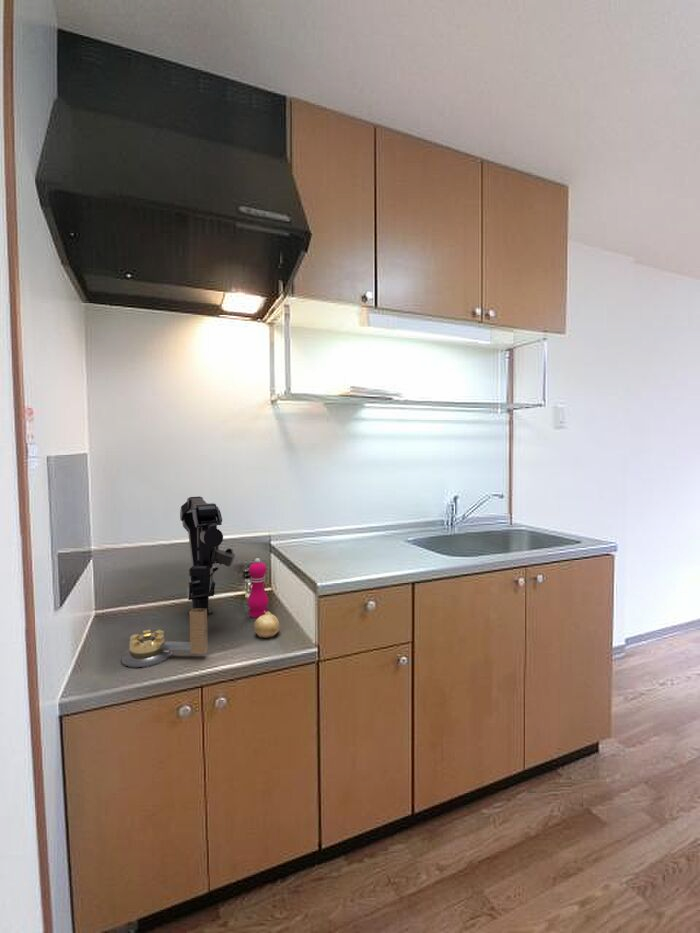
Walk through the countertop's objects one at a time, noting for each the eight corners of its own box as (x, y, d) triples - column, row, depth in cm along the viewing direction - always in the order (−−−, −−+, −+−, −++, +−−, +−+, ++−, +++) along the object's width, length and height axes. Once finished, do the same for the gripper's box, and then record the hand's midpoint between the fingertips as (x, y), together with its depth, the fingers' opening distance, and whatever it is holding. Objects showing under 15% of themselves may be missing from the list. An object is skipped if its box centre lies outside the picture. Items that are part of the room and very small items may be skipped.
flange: (116, 655, 125) (116, 649, 125) (163, 641, 134) (163, 636, 134) (129, 673, 115) (129, 667, 115) (179, 657, 124) (179, 651, 124)
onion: (284, 635, 138) (284, 613, 137) (262, 643, 132) (262, 620, 132) (270, 627, 144) (270, 606, 143) (249, 634, 138) (248, 612, 138)
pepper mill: (263, 619, 150) (263, 561, 148) (244, 617, 151) (243, 560, 150) (271, 610, 157) (271, 556, 156) (253, 609, 158) (252, 555, 157)
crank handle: (123, 657, 120) (121, 614, 119) (140, 642, 129) (139, 602, 128) (199, 659, 119) (198, 616, 118) (212, 644, 128) (211, 604, 127)
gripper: (226, 547, 132) (227, 599, 131) (237, 538, 150) (238, 583, 150) (188, 548, 131) (189, 600, 131) (204, 539, 149) (205, 585, 149)
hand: (207, 592), depth 140 cm, fingers closed
